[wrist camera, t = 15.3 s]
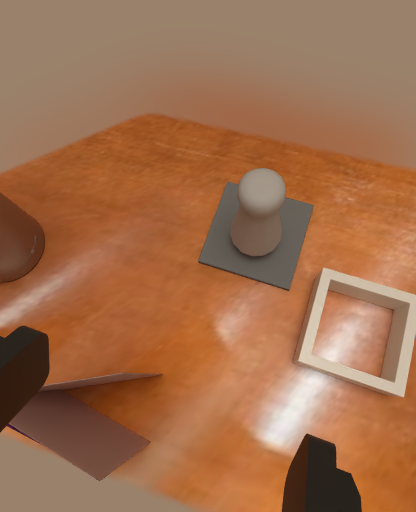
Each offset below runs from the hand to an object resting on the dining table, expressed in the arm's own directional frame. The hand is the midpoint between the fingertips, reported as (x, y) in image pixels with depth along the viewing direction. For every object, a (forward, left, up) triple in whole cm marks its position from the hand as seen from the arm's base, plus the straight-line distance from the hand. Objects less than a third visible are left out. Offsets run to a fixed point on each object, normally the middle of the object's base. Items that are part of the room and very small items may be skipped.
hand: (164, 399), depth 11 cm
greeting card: (-10, -4, -31) cm, 33 cm away
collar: (+12, +10, -31) cm, 34 cm away
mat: (-1, +18, -31) cm, 35 cm away
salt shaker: (-1, +17, -30) cm, 35 cm away
